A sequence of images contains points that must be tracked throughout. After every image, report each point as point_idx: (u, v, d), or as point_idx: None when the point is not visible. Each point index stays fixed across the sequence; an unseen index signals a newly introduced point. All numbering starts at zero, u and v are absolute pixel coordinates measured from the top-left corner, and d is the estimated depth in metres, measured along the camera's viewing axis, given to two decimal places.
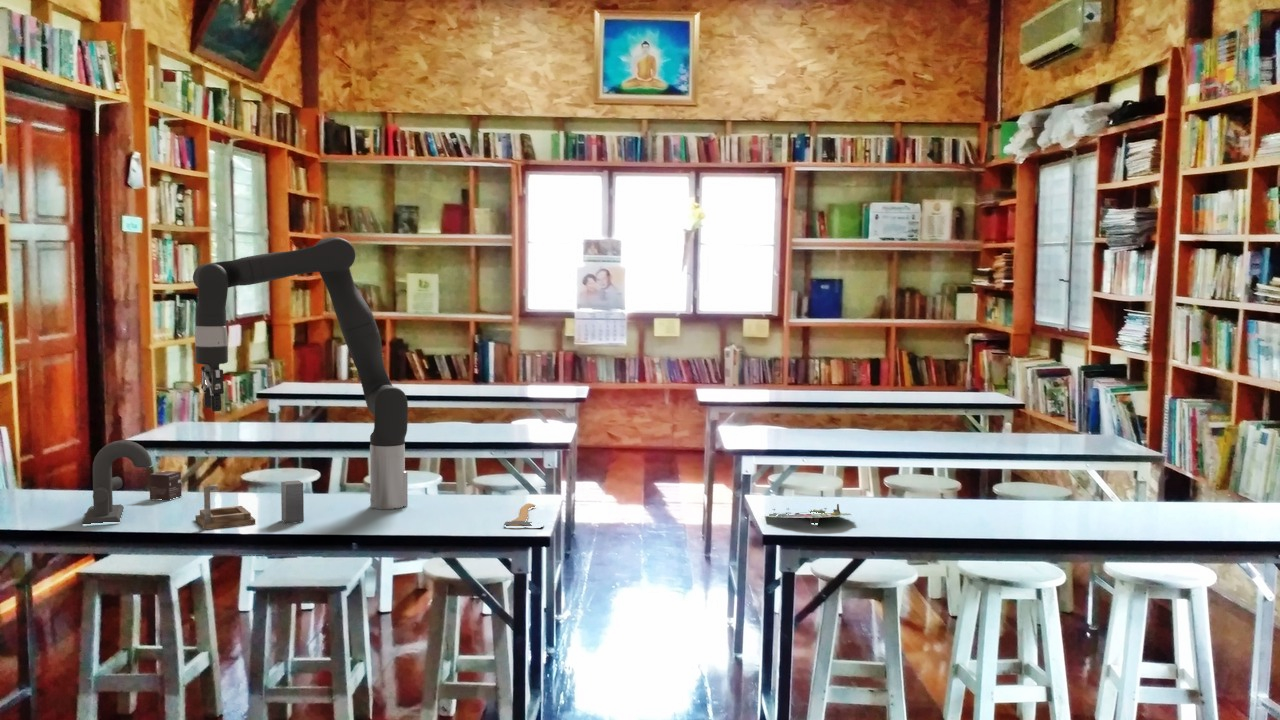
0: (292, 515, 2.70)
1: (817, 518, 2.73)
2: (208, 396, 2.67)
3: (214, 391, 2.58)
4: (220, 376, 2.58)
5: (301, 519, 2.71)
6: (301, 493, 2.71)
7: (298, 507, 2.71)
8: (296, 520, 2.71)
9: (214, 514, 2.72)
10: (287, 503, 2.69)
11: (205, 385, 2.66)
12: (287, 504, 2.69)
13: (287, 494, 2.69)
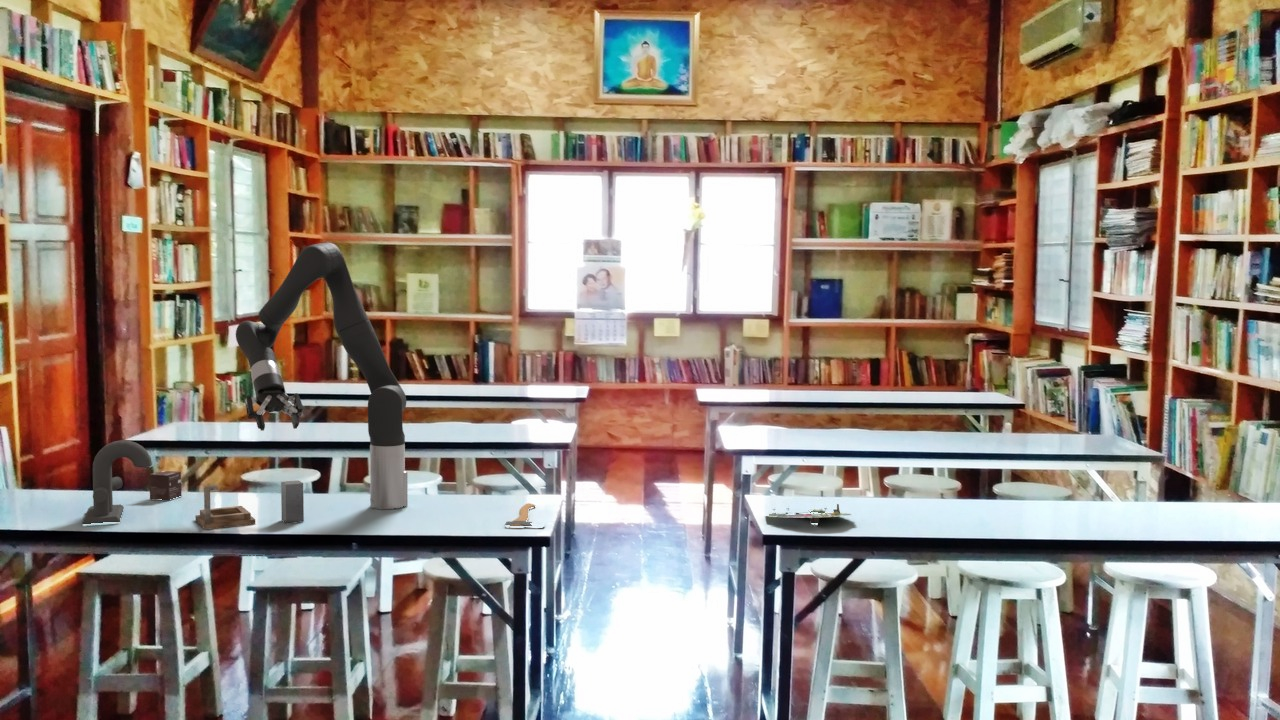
0: (292, 515, 2.70)
1: (817, 518, 2.73)
2: (292, 418, 2.84)
3: (247, 415, 2.79)
4: (246, 401, 2.80)
5: (301, 519, 2.71)
6: (301, 493, 2.71)
7: (298, 507, 2.71)
8: (296, 520, 2.71)
9: (214, 514, 2.72)
10: (287, 503, 2.69)
11: (285, 412, 2.85)
12: (287, 504, 2.69)
13: (287, 494, 2.69)
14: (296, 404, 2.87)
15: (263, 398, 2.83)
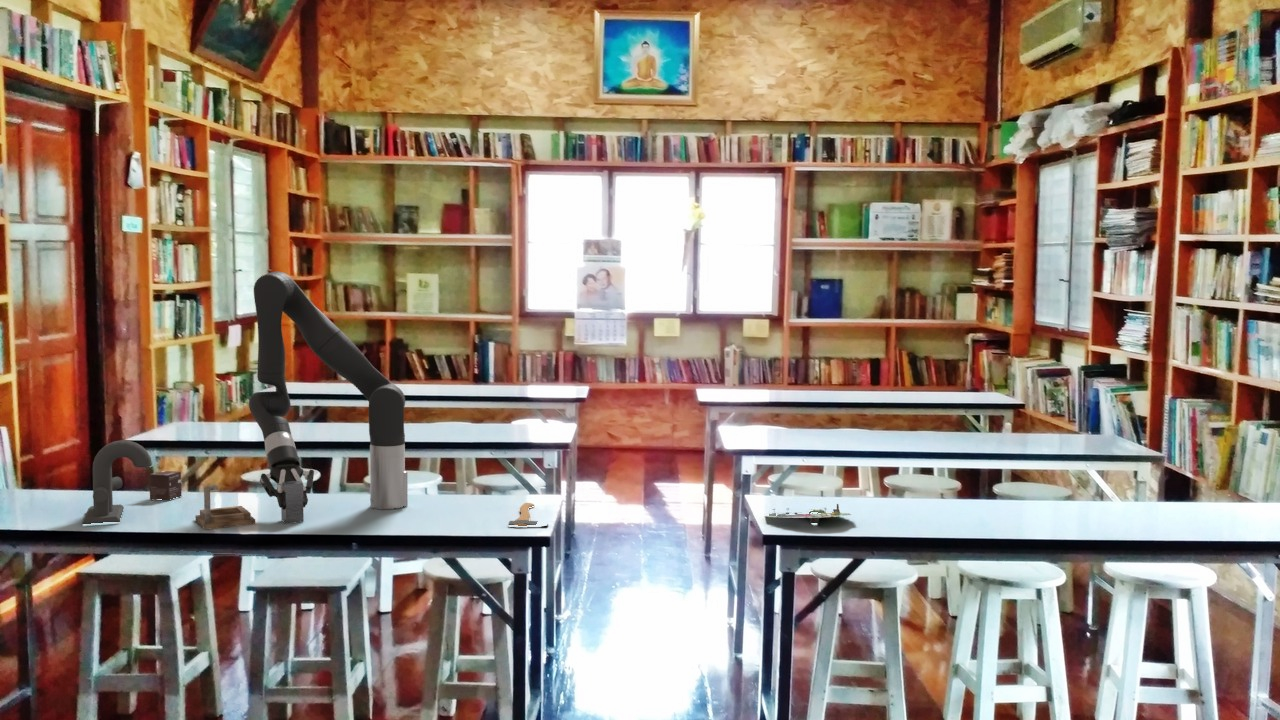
0: (292, 515, 2.70)
1: (817, 518, 2.73)
2: None
3: (268, 494, 2.71)
4: (263, 480, 2.71)
5: (301, 519, 2.71)
6: (301, 493, 2.71)
7: (298, 507, 2.71)
8: (296, 520, 2.71)
9: (214, 514, 2.72)
10: (287, 503, 2.69)
11: None
12: (287, 504, 2.69)
13: (287, 494, 2.69)
14: (307, 480, 2.77)
15: (277, 472, 2.74)
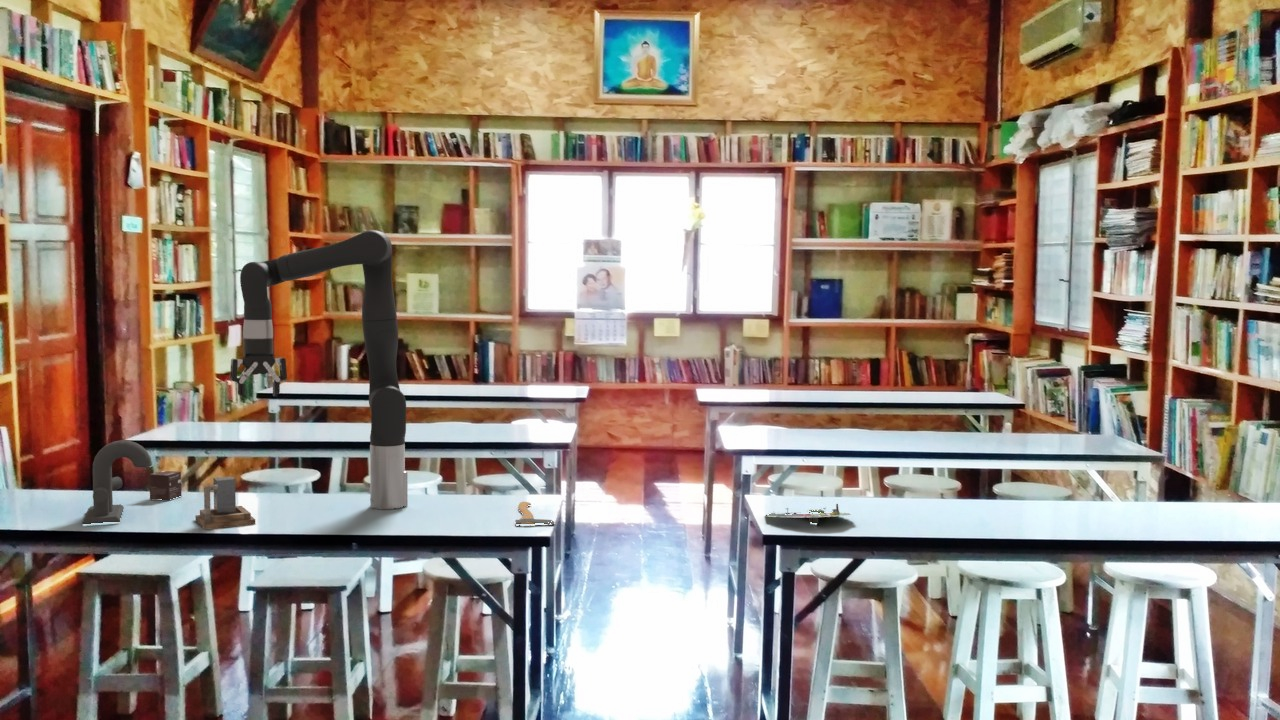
0: (224, 512, 2.68)
1: (816, 518, 2.73)
2: (273, 385, 2.88)
3: (230, 378, 2.83)
4: (232, 365, 2.81)
5: None
6: (233, 489, 2.69)
7: (230, 504, 2.68)
8: None
9: None
10: (218, 499, 2.67)
11: (269, 374, 2.88)
12: (218, 500, 2.67)
13: (218, 490, 2.67)
14: (281, 369, 2.88)
15: (249, 363, 2.83)
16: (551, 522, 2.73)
